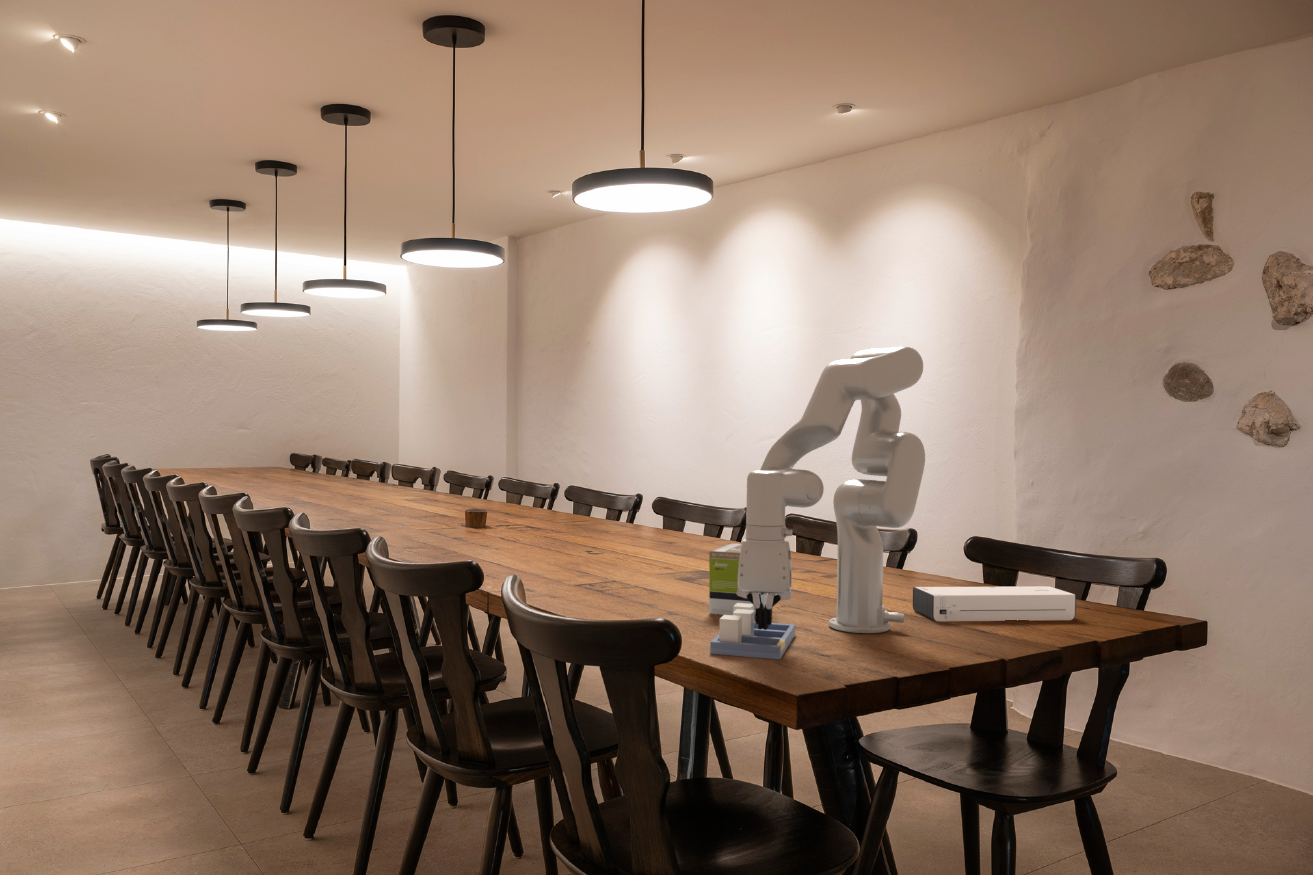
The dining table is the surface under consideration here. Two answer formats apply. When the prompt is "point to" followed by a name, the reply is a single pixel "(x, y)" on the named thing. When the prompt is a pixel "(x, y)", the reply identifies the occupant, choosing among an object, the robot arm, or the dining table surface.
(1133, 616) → the dining table surface
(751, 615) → the tab
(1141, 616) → the dining table surface
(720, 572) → the tea box
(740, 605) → the tab
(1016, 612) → the laminator
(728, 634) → the tab
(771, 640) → the blue compartment tray
